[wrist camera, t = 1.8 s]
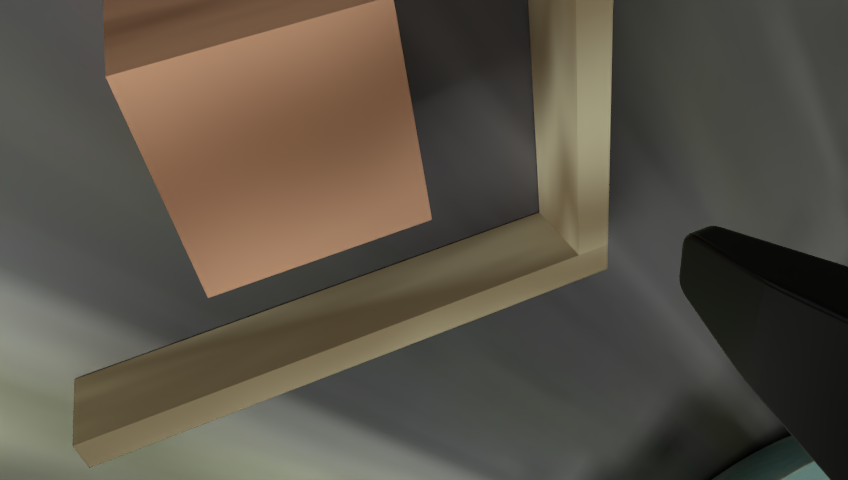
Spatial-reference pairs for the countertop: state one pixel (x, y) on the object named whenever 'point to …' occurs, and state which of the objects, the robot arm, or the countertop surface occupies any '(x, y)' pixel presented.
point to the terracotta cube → (269, 126)
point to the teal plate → (776, 464)
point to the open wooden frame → (394, 271)
